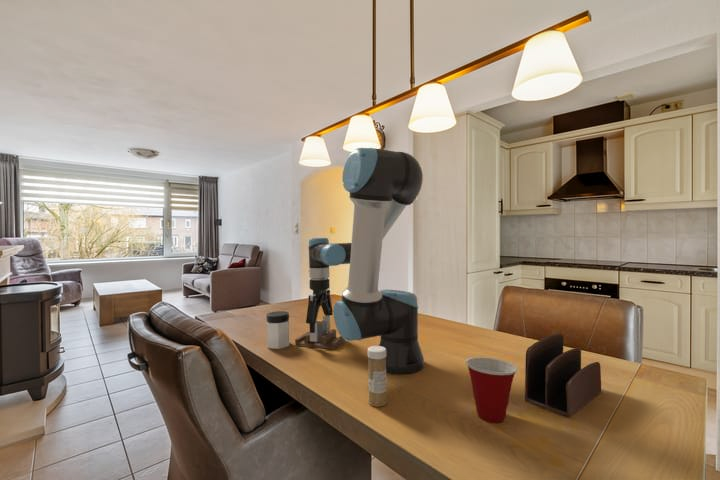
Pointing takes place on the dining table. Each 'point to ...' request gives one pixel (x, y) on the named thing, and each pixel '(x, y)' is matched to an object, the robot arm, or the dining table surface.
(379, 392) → the sprinkles bottle
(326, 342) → the brown slotted rack
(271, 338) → the jar
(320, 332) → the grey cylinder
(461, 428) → the dining table surface
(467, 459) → the dining table surface
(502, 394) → the plastic cup
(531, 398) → the letter holder
